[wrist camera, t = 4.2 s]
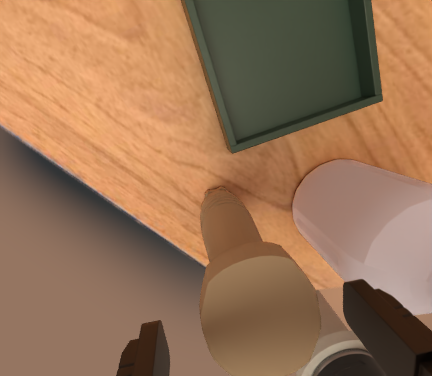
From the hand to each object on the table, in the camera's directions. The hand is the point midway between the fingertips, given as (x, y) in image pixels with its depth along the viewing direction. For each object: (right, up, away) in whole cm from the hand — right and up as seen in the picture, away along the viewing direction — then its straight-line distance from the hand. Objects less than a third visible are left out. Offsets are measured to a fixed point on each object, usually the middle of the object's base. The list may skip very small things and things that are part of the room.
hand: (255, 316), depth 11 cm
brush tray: (+3, +19, +10) cm, 21 cm away
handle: (-2, +4, +14) cm, 15 cm away
